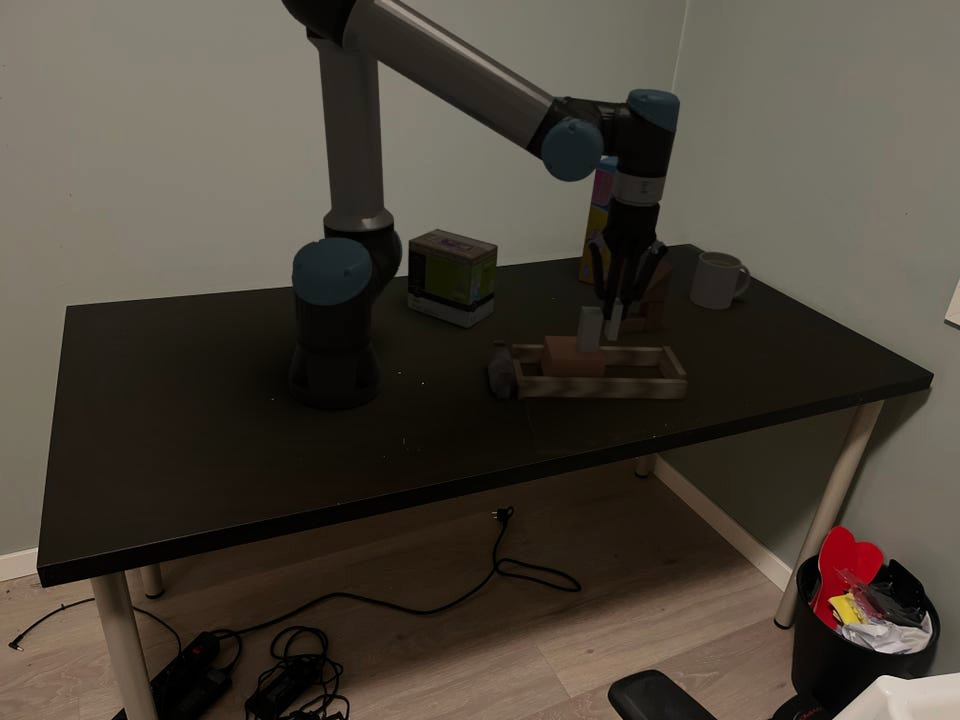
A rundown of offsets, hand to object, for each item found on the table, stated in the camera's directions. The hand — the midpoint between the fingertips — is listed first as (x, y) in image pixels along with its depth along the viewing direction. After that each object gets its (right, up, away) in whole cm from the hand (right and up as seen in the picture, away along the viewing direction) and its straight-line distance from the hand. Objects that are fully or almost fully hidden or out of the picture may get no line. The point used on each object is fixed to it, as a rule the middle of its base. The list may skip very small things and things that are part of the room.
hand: (610, 336), depth 119 cm
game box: (+8, +17, +50) cm, 53 cm away
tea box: (-28, +6, +25) cm, 38 cm away
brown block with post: (-6, -7, +4) cm, 10 cm away
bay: (-4, -8, +4) cm, 10 cm away
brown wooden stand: (+8, +2, +23) cm, 24 cm away
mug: (+30, +9, +38) cm, 49 cm away
